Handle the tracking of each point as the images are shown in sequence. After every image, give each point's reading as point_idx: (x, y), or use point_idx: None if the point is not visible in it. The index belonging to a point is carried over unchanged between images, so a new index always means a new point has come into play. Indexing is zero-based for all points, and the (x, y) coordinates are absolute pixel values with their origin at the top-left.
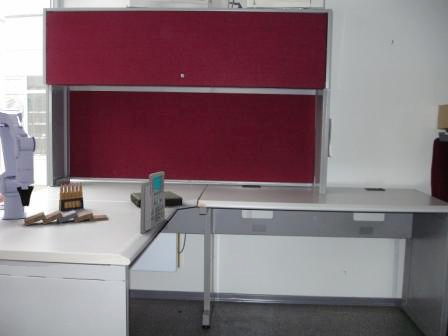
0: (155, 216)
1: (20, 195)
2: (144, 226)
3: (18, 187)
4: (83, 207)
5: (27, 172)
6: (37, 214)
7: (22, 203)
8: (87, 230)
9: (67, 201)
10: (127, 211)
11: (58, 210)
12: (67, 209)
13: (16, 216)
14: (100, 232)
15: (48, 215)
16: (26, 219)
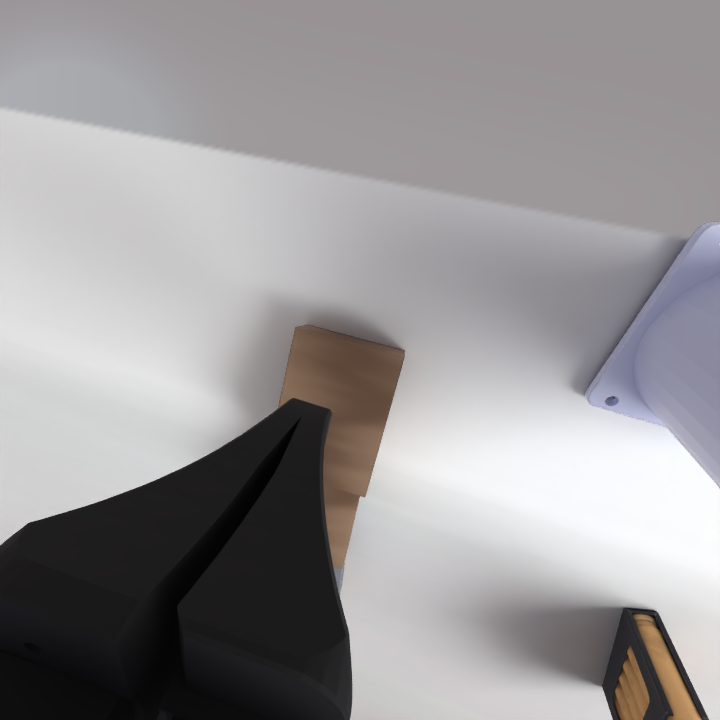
0: None
1: (174, 477)
2: None
3: (52, 636)
4: (605, 694)
5: None
6: (348, 447)
7: (271, 416)
8: (103, 494)
9: (647, 713)
10: (388, 707)
11: (332, 560)
12: (620, 642)
13: (642, 350)
14: (63, 507)
15: (331, 489)
16: (333, 356)
